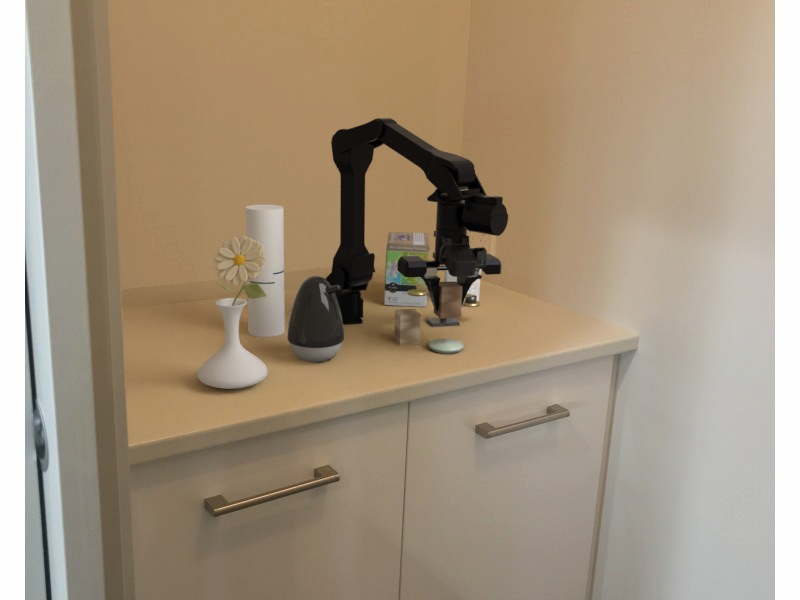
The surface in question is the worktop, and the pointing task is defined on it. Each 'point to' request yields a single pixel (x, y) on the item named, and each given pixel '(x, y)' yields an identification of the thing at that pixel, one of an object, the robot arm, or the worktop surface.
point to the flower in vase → (235, 317)
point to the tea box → (394, 279)
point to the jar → (472, 290)
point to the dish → (446, 346)
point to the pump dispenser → (316, 321)
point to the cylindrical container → (267, 270)
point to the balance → (435, 322)
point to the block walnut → (449, 300)
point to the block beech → (407, 326)
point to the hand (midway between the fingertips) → (447, 309)
